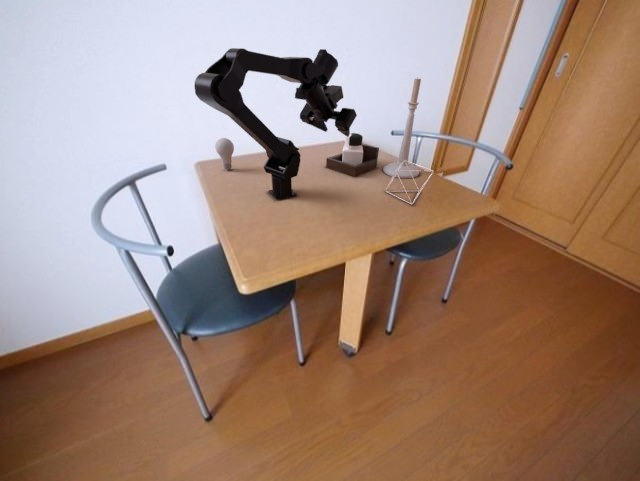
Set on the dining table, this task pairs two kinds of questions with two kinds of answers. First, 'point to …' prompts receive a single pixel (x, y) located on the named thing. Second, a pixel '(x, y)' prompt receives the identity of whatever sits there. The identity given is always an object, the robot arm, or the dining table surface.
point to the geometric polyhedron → (402, 183)
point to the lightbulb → (225, 151)
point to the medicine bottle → (353, 149)
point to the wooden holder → (354, 170)
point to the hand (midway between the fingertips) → (337, 133)
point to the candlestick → (406, 141)
